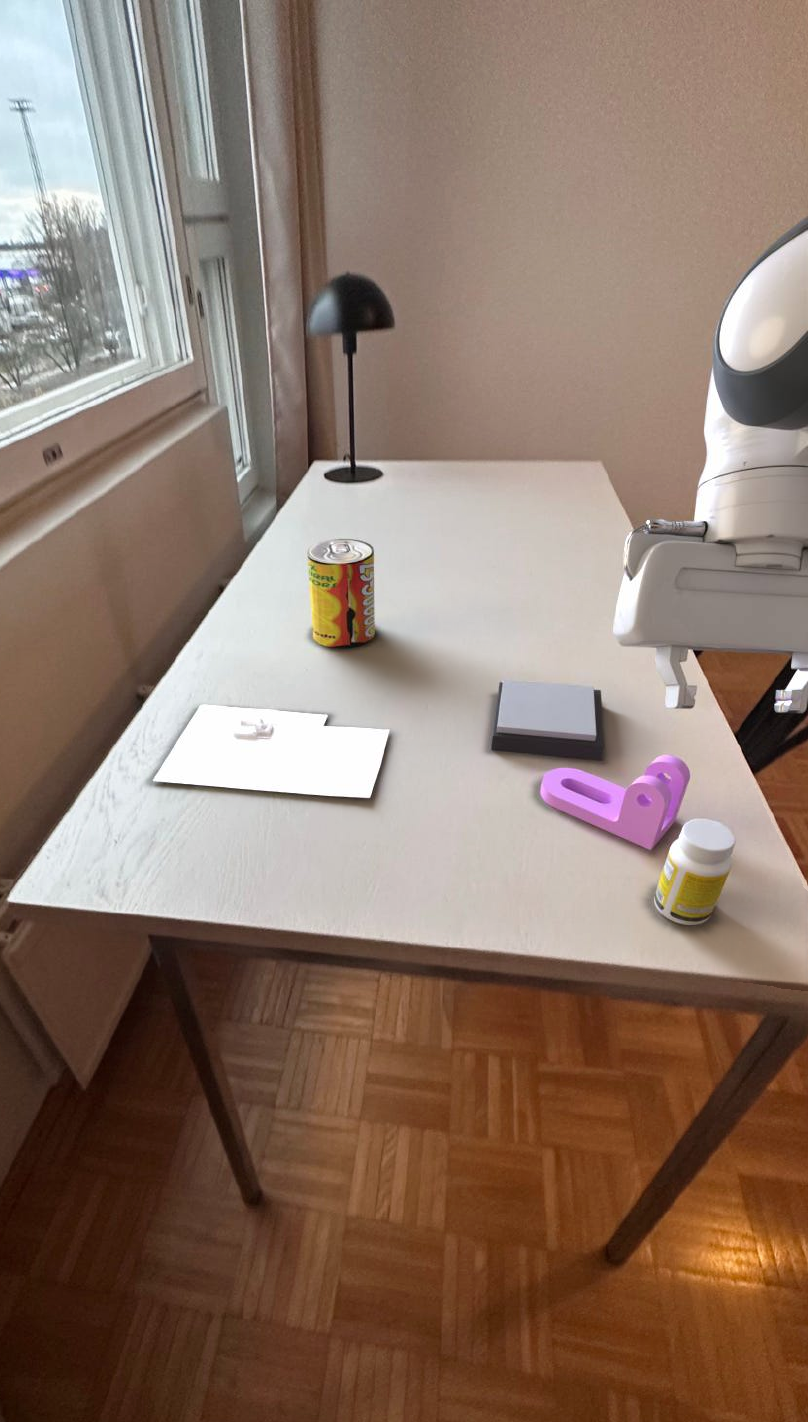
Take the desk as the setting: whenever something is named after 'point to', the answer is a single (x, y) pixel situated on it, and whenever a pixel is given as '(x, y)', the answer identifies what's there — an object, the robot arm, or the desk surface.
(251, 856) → the desk surface
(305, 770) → the paper
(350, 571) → the beverage can
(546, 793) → the bracket
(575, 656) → the desk surface
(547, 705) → the scale
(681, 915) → the supplement bottle
